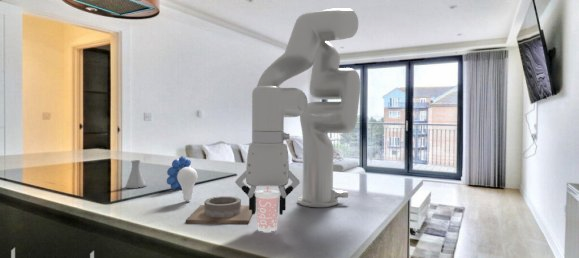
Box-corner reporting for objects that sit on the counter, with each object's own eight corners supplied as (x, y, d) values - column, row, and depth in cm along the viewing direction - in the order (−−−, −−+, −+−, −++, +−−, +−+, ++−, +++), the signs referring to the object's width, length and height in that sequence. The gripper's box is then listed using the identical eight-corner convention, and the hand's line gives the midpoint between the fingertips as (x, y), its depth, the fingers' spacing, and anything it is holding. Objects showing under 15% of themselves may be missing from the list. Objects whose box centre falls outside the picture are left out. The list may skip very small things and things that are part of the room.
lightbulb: (191, 204, 103) (191, 168, 103) (173, 203, 105) (173, 168, 104) (201, 199, 109) (200, 165, 109) (183, 198, 111) (183, 165, 110)
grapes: (183, 184, 132) (183, 154, 131) (196, 186, 129) (196, 155, 128) (158, 190, 122) (158, 157, 121) (172, 193, 118) (172, 158, 118)
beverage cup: (249, 230, 81) (249, 172, 80) (265, 223, 86) (265, 168, 86) (269, 235, 78) (270, 174, 77) (285, 228, 83) (285, 171, 82)
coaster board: (254, 208, 100) (254, 194, 100) (248, 223, 86) (248, 207, 86) (200, 207, 100) (200, 194, 100) (185, 222, 86) (185, 207, 86)
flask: (127, 185, 131) (126, 159, 130) (147, 184, 133) (147, 158, 132) (123, 189, 124) (123, 162, 123) (145, 188, 126) (145, 161, 125)
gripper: (303, 137, 85) (302, 209, 85) (234, 137, 85) (234, 208, 85) (304, 139, 77) (303, 218, 78) (228, 139, 77) (228, 217, 78)
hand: (267, 212), depth 82 cm, fingers closed on beverage cup, 6 cm apart
